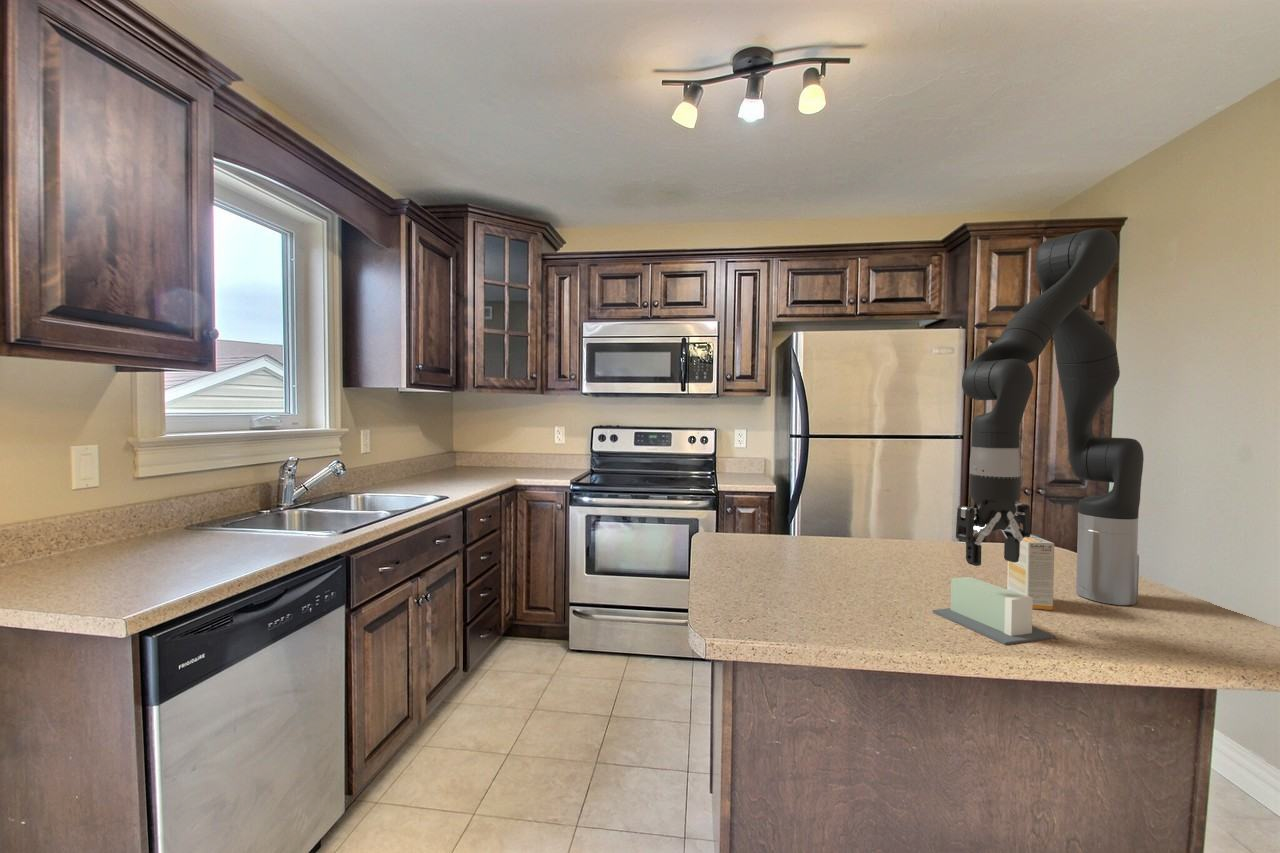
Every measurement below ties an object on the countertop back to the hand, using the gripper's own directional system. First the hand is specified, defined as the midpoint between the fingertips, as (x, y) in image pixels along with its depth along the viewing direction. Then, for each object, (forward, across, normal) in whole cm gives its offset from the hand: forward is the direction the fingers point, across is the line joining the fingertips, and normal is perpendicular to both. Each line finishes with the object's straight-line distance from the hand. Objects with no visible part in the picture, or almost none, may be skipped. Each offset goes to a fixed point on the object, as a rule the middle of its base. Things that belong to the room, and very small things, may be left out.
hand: (992, 562), depth 92 cm
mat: (+11, 0, 0) cm, 11 cm away
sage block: (+8, 0, +7) cm, 10 cm away
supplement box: (+12, +18, +7) cm, 22 cm away
